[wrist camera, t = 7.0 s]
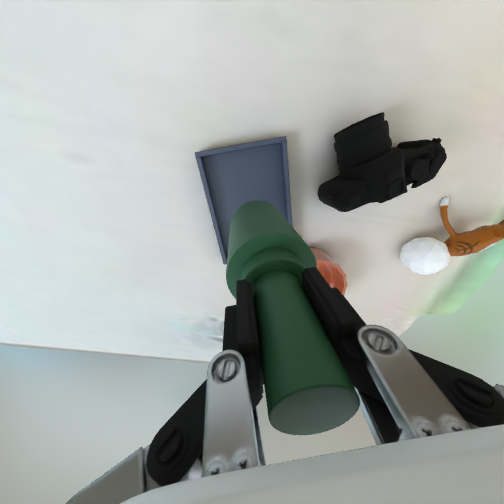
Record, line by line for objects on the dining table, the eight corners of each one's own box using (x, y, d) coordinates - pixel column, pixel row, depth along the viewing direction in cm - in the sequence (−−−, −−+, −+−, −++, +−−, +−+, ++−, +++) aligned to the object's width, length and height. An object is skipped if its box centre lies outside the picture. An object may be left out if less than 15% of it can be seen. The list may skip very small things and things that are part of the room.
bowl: (268, 252, 35) (273, 267, 30) (333, 240, 35) (349, 254, 30) (274, 302, 40) (280, 322, 35) (331, 292, 40) (344, 311, 35)
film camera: (401, 98, 26) (476, 71, 18) (407, 167, 30) (470, 171, 22) (298, 151, 28) (324, 148, 20) (317, 210, 32) (344, 227, 24)
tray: (197, 152, 27) (194, 152, 25) (282, 138, 27) (286, 136, 25) (224, 258, 35) (223, 264, 33) (290, 246, 35) (294, 252, 33)
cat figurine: (430, 288, 29) (604, 238, 23) (395, 218, 30) (553, 154, 24) (396, 274, 41) (504, 240, 35) (373, 225, 42) (474, 184, 36)
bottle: (224, 205, 20) (186, 369, 4) (280, 195, 20) (440, 324, 4) (235, 255, 23) (236, 468, 7) (285, 246, 23) (395, 440, 7)
